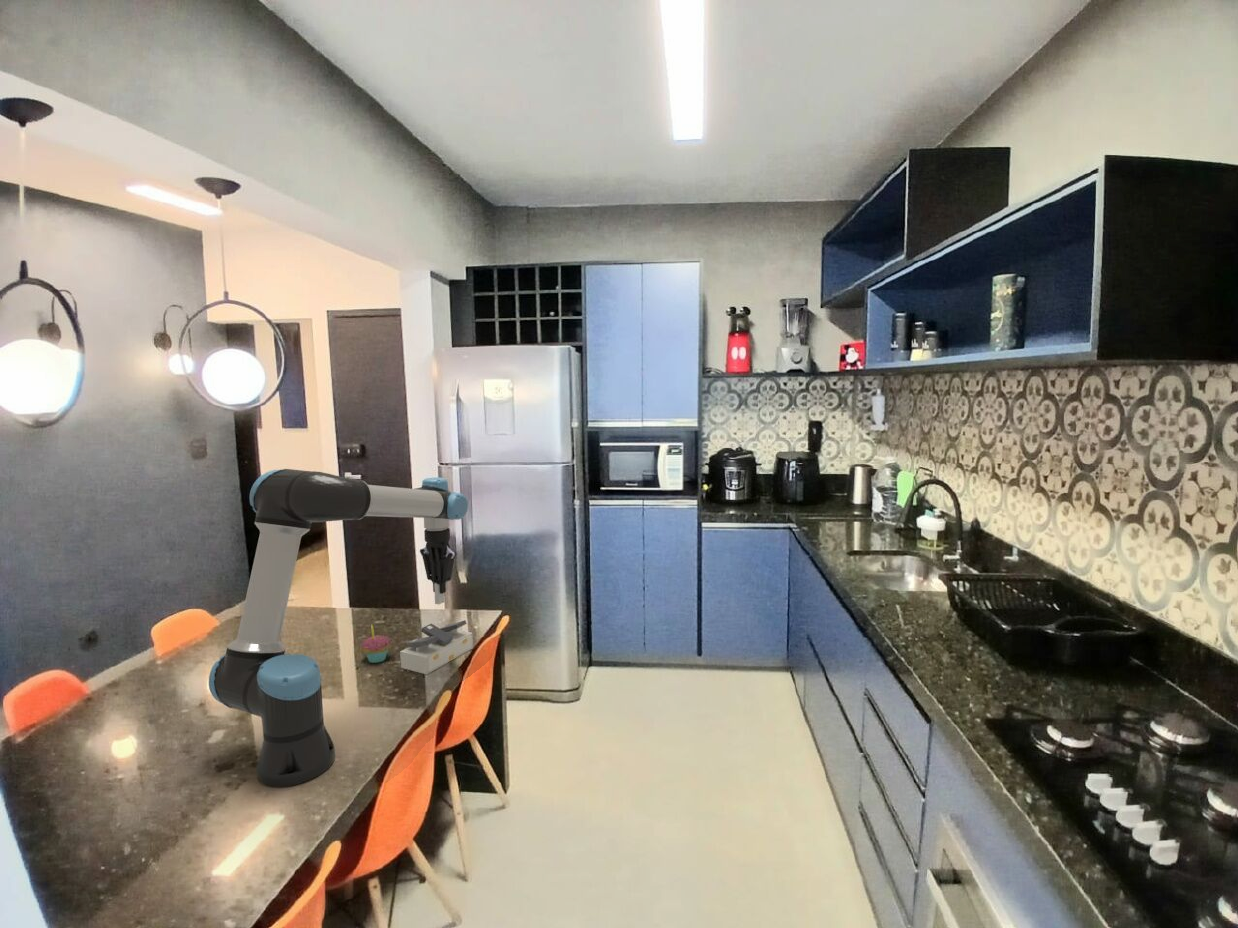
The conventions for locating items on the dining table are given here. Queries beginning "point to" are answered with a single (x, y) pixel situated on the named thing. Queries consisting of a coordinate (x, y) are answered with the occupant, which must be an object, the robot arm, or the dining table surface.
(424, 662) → the switch unit
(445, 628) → the rocker
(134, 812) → the dining table surface
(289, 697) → the robot arm
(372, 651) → the cupcake
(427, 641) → the rocker
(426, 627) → the block
